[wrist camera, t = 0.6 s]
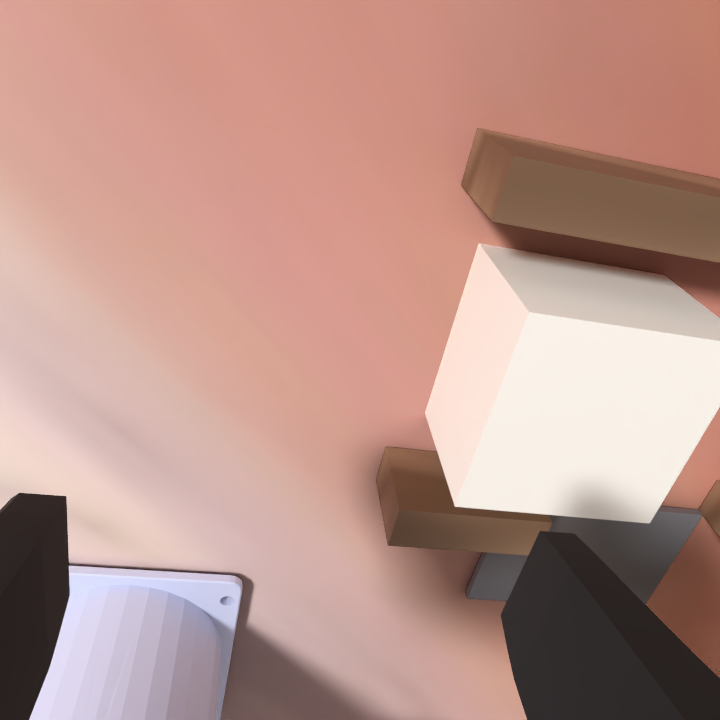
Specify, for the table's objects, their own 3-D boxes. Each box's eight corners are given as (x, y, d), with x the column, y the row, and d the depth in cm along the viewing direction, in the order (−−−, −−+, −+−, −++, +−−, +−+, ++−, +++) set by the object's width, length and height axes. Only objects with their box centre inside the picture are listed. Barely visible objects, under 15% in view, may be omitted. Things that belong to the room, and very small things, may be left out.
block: (586, 429, 22) (649, 523, 18) (424, 410, 21) (454, 506, 17) (661, 273, 19) (755, 346, 15) (477, 241, 18) (528, 312, 14)
